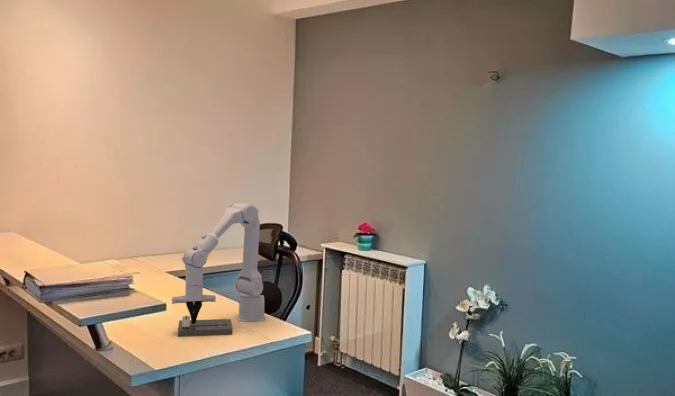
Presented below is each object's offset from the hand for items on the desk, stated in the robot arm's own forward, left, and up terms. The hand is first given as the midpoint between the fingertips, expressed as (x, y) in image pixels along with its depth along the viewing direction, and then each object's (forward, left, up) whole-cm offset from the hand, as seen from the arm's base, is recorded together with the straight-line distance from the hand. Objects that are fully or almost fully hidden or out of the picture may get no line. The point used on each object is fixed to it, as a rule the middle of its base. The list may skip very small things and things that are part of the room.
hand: (193, 323), depth 203 cm
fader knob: (+3, 0, -1) cm, 3 cm away
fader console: (-4, -1, -3) cm, 5 cm away
